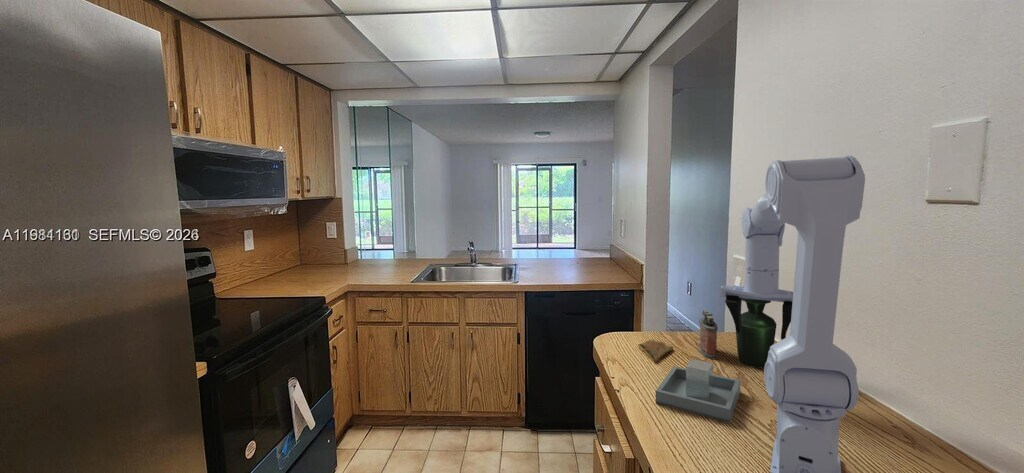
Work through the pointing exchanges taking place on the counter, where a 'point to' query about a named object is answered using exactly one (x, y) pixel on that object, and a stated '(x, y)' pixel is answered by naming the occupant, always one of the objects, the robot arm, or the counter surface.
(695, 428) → the counter surface
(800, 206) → the robot arm
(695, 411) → the tray
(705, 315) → the lighter
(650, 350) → the shard
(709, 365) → the aluminium block
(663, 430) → the counter surface
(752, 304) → the potion bottle
